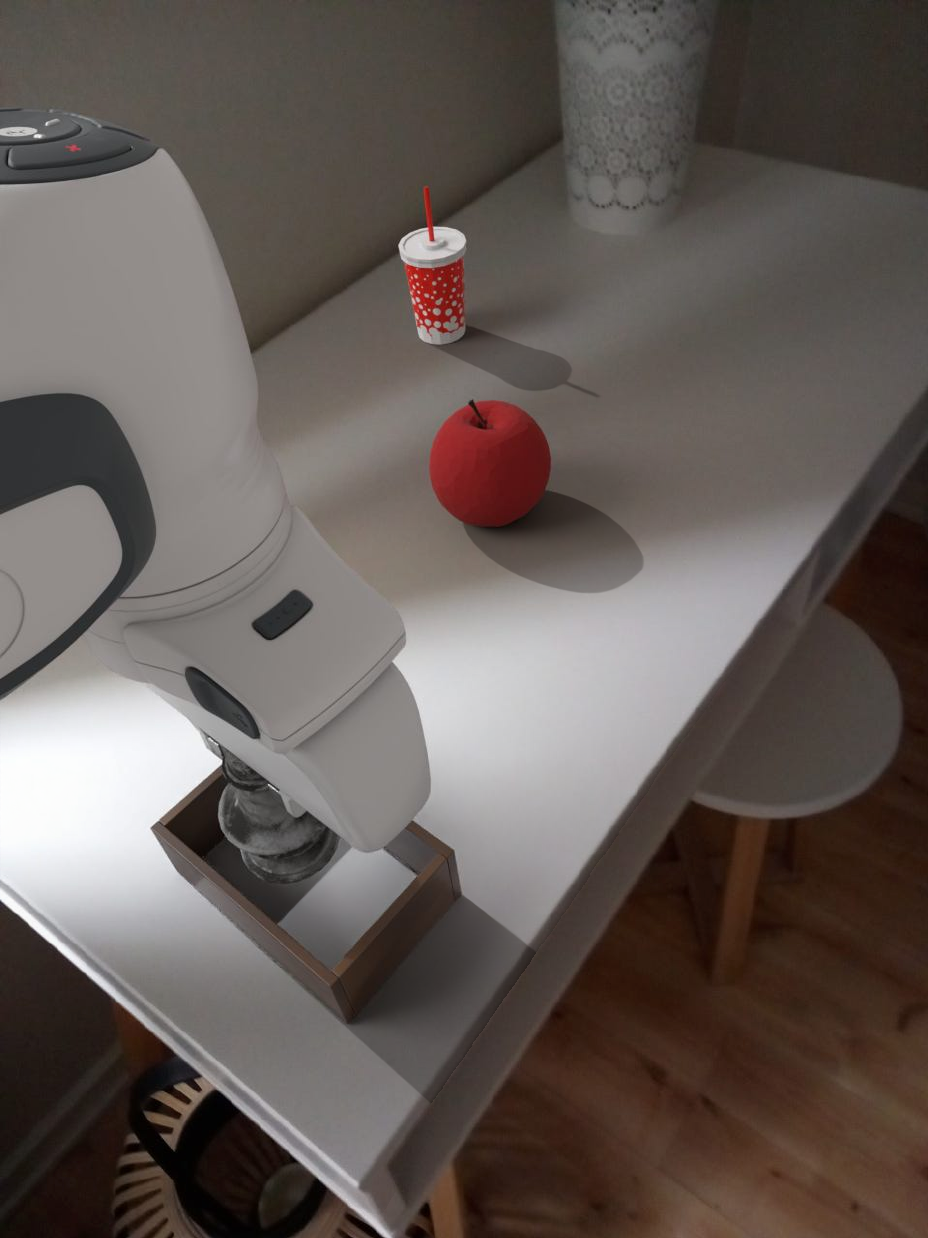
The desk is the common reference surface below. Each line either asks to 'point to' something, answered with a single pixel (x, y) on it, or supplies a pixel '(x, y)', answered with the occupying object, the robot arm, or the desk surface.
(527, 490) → the apple
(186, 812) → the open wooden box
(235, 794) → the grey stone turned piece
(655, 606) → the desk surface
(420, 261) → the beverage cup
